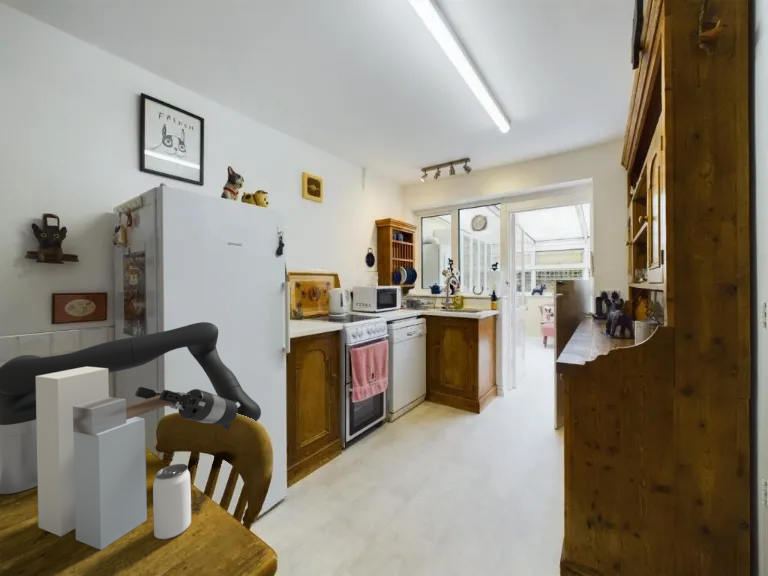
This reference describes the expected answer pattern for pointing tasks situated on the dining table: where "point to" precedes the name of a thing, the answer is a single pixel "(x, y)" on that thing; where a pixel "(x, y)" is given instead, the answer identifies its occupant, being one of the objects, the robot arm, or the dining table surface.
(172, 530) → the can
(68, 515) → the tall pedestal
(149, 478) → the dining table surface
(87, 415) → the mallet
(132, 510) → the short pedestal
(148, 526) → the dining table surface
